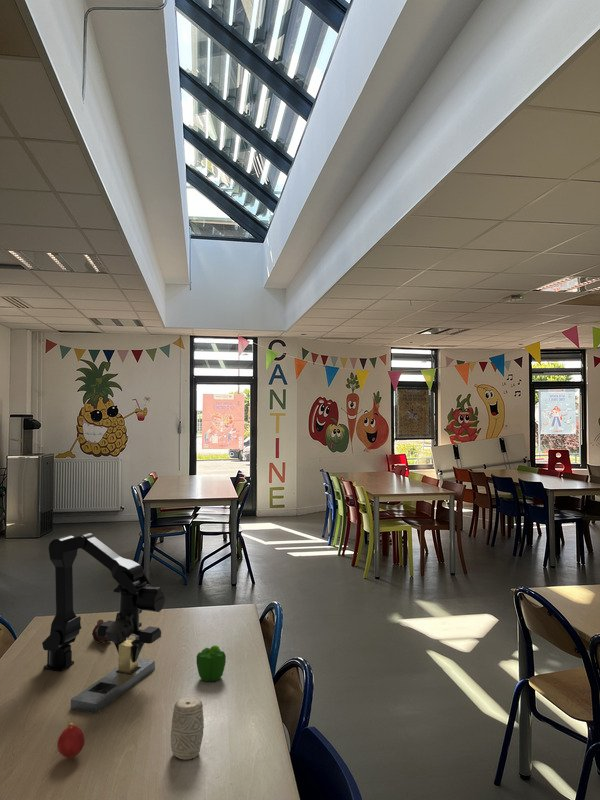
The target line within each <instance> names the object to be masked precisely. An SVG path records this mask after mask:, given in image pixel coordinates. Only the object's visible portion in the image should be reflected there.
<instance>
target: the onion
mask: <svg viewBox="0 0 600 800" xmlns="http://www.w3.org/2000/svg"><path fill="white" fill-rule="evenodd" d="M85 741H86V737H85V733H84V731H83V729H81V728H80V727H79V726H77V725H75V724H74V723H73V722H71V723H69V724H68V725H67V727H66V728H65V729H64V730H62V731H61V733H60V735H59V737H58V738H57V745H56V746H57V751H58V753H59V754H60V755H61V756H62V757H64V758H67V760H73V759H74V758H75V757H76V756H77V755H79V754H80V753H81V751H82V750H83V748H84V746H85V743H86V742H85Z"/></svg>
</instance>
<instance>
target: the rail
mask: <svg viewBox="0 0 600 800" xmlns="http://www.w3.org/2000/svg"><path fill="white" fill-rule="evenodd" d="M155 664H156V661H155V660H153V659H146V658H141V657H138V669H137V670H135V671H134V672H133V673H131V674H125V673H119V672H118V666H117V667H115V668H114V669H113V670H111V671H110V672H109V673H107V674H106V675H104V676H103V677H100V679H98V680H97V681H95V682H94V683H92V684H91V685H90V686H88V687H87V688H85V689H83V690H82V691H81V692H79V693H78V694H77V695H75V696H73V697H72V698H70V710H76V711H79V712H80V711H81V712H86V713H90V714H96V715H97V714H98V713H99V712H100V711H102V710H103V709H104V708H106V707H107V706H109V705H110V704H111V703H113V701H115V700H116V699H117V698H119V697H120V696H121V695H123V694H124V693H126V692H127V691H128V690H129V689H131V687H134V686H135V685H136V684H137V683H139V682H140V681H141V680H142V679H144V678H145V677H146V676H147V675H149V674H150V673H152V672H153V671H154V670H155V669H156V665H155ZM101 692H105V693H101Z"/></svg>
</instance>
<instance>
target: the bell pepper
mask: <svg viewBox="0 0 600 800" xmlns="http://www.w3.org/2000/svg"><path fill="white" fill-rule="evenodd" d="M226 657H227V656H226V653H225V651H222V650H221V649H220V646H218V645H213V646H210V648H209V647H205V648H203V649H202V651H200V652H198V653H197V655H196V667H197V671H198V676H199V678H200V679H201V680H202V682H210V681H211V682H212V681H213V682H217V681H219V680H220V679H221V678H222V677H223V674H224V671H225V666H226V659H227V658H226Z"/></svg>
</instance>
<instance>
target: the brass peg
mask: <svg viewBox="0 0 600 800" xmlns="http://www.w3.org/2000/svg"><path fill="white" fill-rule="evenodd" d="M132 641H133V640H132V639H131V640H130V639H129V640H128V639H126V641H124V642H123V643H121V644H119V654H118V663H117V664H118V665H117V667H118V672H119V673H125V674H127V675H132V674H131V673H133V672H134V671H135V670H137V669H138V658H139V657H138V658H137V660H136V662H133V645H132V643H131V642H132Z"/></svg>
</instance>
